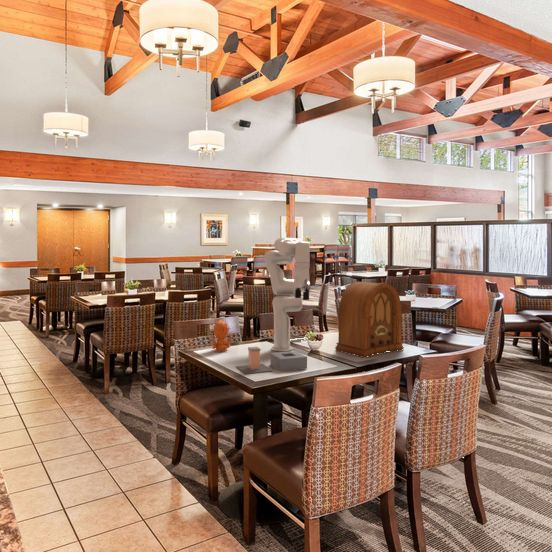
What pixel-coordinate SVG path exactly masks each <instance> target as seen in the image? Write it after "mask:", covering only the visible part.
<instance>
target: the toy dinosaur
mask: <svg viewBox="0 0 552 552" xmlns="http://www.w3.org/2000/svg"><path fill="white" fill-rule="evenodd" d="M218 320H219V321H214V325H213V335H212V337H211V338H212V339H211V342H212V350H214V351H216V350H217V351H216V352H218V351H224V352H227V350H228V349H230V347H231V344H230V342H231V339H232V334H229V332H230V329H231V328H230V325H228V322H227V321H223V320H222V319H218ZM228 336H229V337H228ZM215 337H216V338H217V340H215ZM227 337H228V338H227ZM226 338H227V340H226Z"/></svg>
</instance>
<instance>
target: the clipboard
mask: <svg viewBox="0 0 552 552" xmlns="http://www.w3.org/2000/svg"><path fill="white" fill-rule="evenodd" d="M304 337H305V336H301V335H298V334H292V333H290V339H295V338H304ZM263 338H264V339H268V340H271V339H272V341H274V336H271V337H267V336H264V337H263ZM301 340H304V339H297V340H291V341H290V342H292V343H302V342H301Z"/></svg>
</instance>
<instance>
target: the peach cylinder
mask: <svg viewBox="0 0 552 552" xmlns="http://www.w3.org/2000/svg"><path fill="white" fill-rule="evenodd" d="M247 350H248V365H249V368H250V369H251V370H253V369H260V364H261V350H262V349H261V348H260V347H258V346H251V347H248V348H247Z"/></svg>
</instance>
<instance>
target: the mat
mask: <svg viewBox="0 0 552 552" xmlns="http://www.w3.org/2000/svg"><path fill="white" fill-rule="evenodd" d="M236 367H237V368H236V369H237V370H239V371H240V372H241V373H242V372H243V375H251V374H252V375H253V374H261V373H263V374H265V373H271V372H273V369H271V368H270V367H268V366H266V365H265V364H264V363H260V369H253V370H251V369H250V368H249V364H247V365H245V364H244V365H236Z"/></svg>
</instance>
